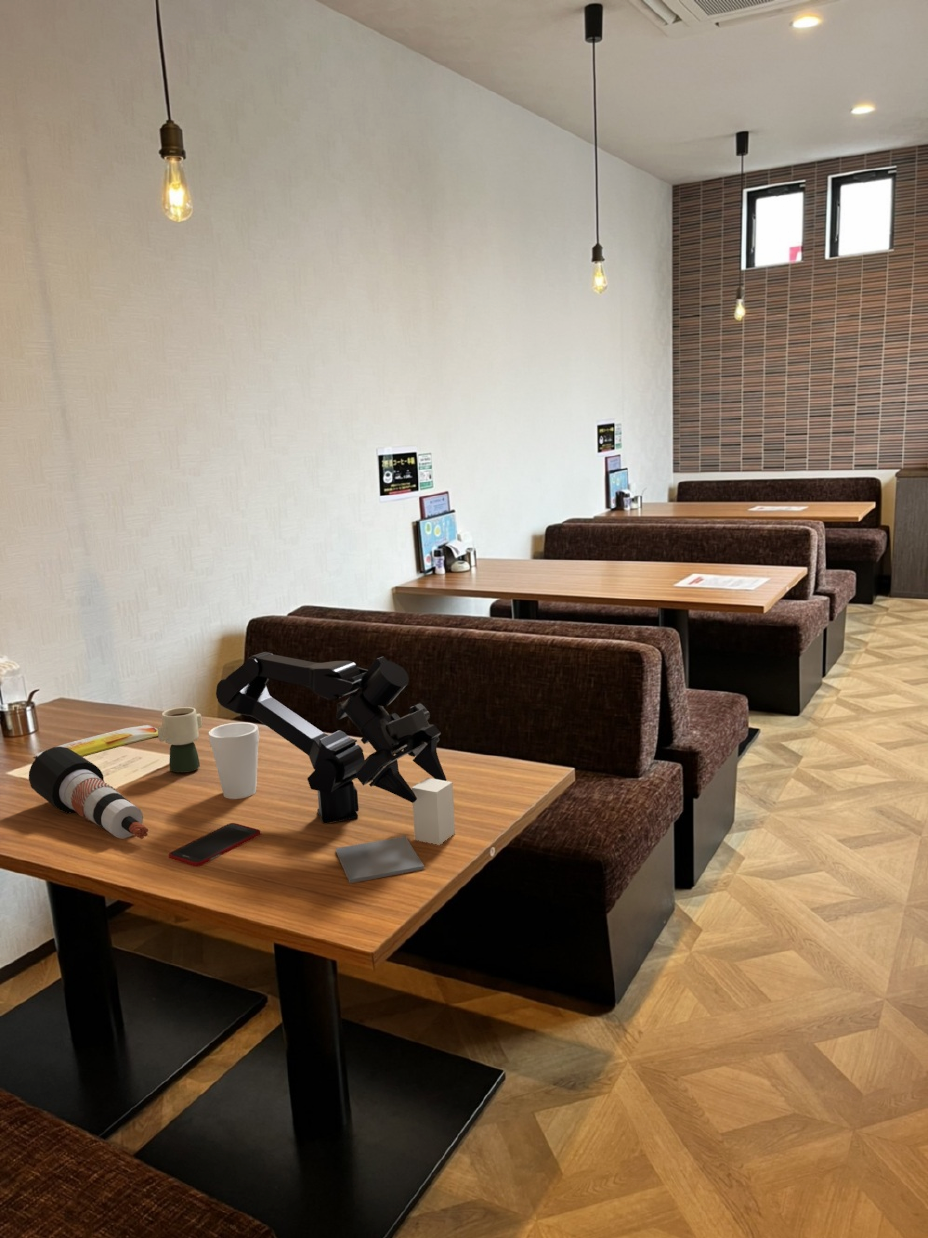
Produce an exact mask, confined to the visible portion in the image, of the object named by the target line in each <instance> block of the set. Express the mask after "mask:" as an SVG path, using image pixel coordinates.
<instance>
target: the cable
mask: <svg viewBox="0 0 928 1238" xmlns="http://www.w3.org/2000/svg"><path fill="white" fill-rule="evenodd" d="M43 751H44V752H43ZM43 751H41V752H42V753H41V754H40V755H39V756H38V757H37V756H36V758H35V759H34V761H33V762H32V763H31V766H30V768H29V771H28V782H29V785H30V787H31V789H32V790H34V791H35V793H36V794H38V795H39V796H41V797H42V799H44V800H46V801H47V802H49V804H51V805H52V806H54V807H55V808H56V809H57V810H59V811H61V812H63V813H65V814H78V815H79V816H80V817H82V818H85V819H86V820H88V821H89V822H92V823H94V824H95V825H97V826H98V827H100V828H102V829H103V830H105V831H107V832H109V833H110V834H111V835H112V836H114V837H115V838H118V839H121V840H123V839H126V838H127V839H128V838H129V837H132V836H135V837H136V838H138V839H140V840H143V839H144V838H146V837H148V835H149V834H148V832H149V828H147V827H146V825H143V821H144V815H143V814H144V813H143V812H142V810H141V809H140V808H139V807H137V806H136V805H135V804H133V803H132V802H131V801H130V800H129V799H127V798H125V797H124V796H123V794H121V793H119V791H118V790H116V788H114V787H113V786H111V785H110V784H108V783H107V782H105V780H104V774H103V772H102V771H101V769H100V768H99V767H98V766H97V765H96V764H94V763H92V762H91V761H90V760H88V759H87V758H85V757H84V756H80V755H79V754H77V753H75V752H74V751H72V750H71V749H69V748H66V747H57V746H53V747H51V748H49V749H46V750H43Z"/></svg>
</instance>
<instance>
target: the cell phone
mask: <svg viewBox="0 0 928 1238" xmlns="http://www.w3.org/2000/svg"><path fill="white" fill-rule="evenodd" d="M259 836H261V830H260V829H258V828H254V827H250V826H246V825H242V824H239V823H235V822H230V823H228V824H225V825H224V826H221V827H219V828H217V829H215V830H213V831H210V832H209V833H207V834H205V835H203V836H201V837H199V838H196V839H195V840H192V841H191V842H188V843H186V844H184V845H182V846H181V847H179V848H176V849H174V850H172V851H171V852H169V853H168V858H169V859H170V860H173V861H177V862H179V863H183V864H187V865H189V866H192V867H201V866H203V865H205V864H207V863H209V862H210V861H212V860H213V859H216V858H218V857H219V856H222V855H224V854H227V853H229V852H230V851H232V850H234V849H236V848H237V847H239V846H242V845H243V844H247V842H249V841H251V840H254V839H255V838H257V837H259Z"/></svg>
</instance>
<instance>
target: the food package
mask: <svg viewBox="0 0 928 1238" xmlns="http://www.w3.org/2000/svg"><path fill="white" fill-rule="evenodd" d="M156 737H158V728H156V727H153V726H152V725H149V724H146V725H144V724H143V725H140V726H131V727H125V728H121V729H117V730H113V731H110V732H106V733H101V734H98V735H93V736H89V737H86V738H82V739H78V740H75V741H70V742H67V743H64V744H61V745H58V746H56V747H66V748H69V749H71V750H72V751H74V752H75V753H77V754H79V755H80V756H82V757H86V756H89V755H92V754H95V753H96V754H97V753H100V752H103V751H107V750H111V749H114V748H118V747H123V746H125V745H129V744H134V743H137V742H141V741H145V740H149V739H152V738H156ZM44 751H45V750H43V751H41V752H40V751H39V752H37V753H34V756H36V758H37V757H38V756H39V755H40V754H41V753H42V752H44Z"/></svg>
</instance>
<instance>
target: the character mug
mask: <svg viewBox="0 0 928 1238" xmlns="http://www.w3.org/2000/svg"><path fill="white" fill-rule="evenodd" d="M202 720H203V719H202V715H201V713H197V709H196V708H194V707H191V706H190V707H189V706H184V707H183V706H182V707H173V708H169V709H167V710H163V711H162V712H161V725H160V726H158V727H157V729H158V736H157V737H158V741H159V742H161V743H162V742H165V743H166V744H167V745H170V747H169V771H170V772H176V773H179V774H180V773H187V772H193V771H195V770H197V769H199V768H200V767H201V762H200V758H199V754H198V750H197V746H196V743H195V742H196V741H197V740H198V739H199V735H200V734H199V730H200V729H201V728H203V721H202Z"/></svg>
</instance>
